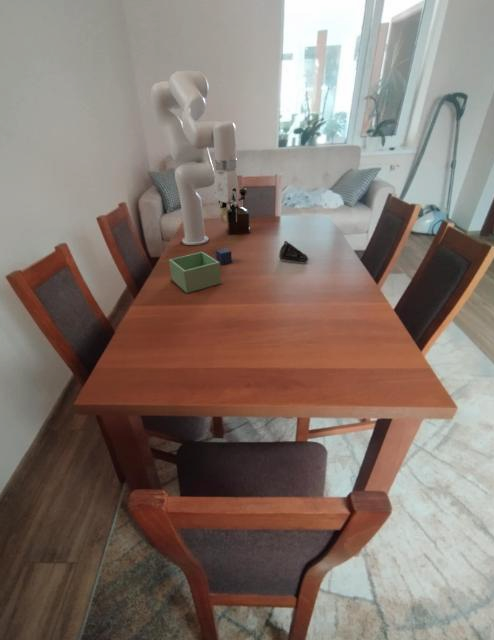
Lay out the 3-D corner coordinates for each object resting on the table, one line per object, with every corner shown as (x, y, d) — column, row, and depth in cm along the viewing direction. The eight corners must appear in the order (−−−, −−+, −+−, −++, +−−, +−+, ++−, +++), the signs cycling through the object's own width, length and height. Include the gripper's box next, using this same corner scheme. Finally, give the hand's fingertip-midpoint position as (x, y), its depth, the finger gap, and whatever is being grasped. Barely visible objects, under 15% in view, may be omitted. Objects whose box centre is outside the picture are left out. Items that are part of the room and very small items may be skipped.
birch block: (220, 221, 128) (219, 208, 125) (230, 219, 129) (230, 206, 126) (226, 223, 124) (226, 210, 122) (236, 221, 126) (236, 208, 123)
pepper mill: (251, 233, 163) (250, 193, 152) (228, 235, 163) (227, 194, 152) (247, 225, 175) (246, 187, 164) (226, 226, 175) (224, 188, 164)
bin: (172, 280, 123) (168, 259, 118) (204, 271, 128) (202, 251, 123) (186, 293, 114) (183, 271, 109) (221, 283, 118) (219, 262, 114)
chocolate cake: (313, 259, 134) (297, 234, 133) (310, 260, 128) (292, 234, 127) (294, 273, 139) (278, 250, 138) (290, 275, 133) (273, 250, 132)
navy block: (216, 261, 136) (215, 250, 133) (226, 259, 137) (225, 248, 134) (221, 264, 132) (221, 253, 130) (231, 262, 134) (231, 251, 131)
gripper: (205, 165, 120) (209, 218, 131) (229, 169, 108) (231, 227, 119) (222, 162, 123) (225, 215, 134) (248, 166, 111) (248, 223, 122)
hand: (228, 220), depth 127 cm, fingers closed on birch block, 4 cm apart
